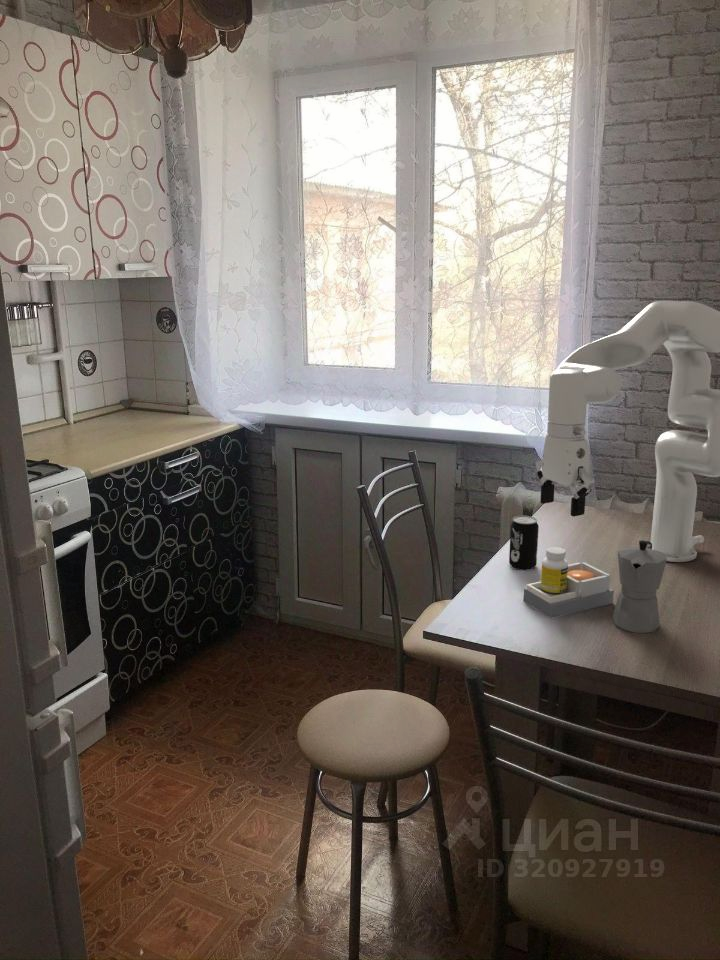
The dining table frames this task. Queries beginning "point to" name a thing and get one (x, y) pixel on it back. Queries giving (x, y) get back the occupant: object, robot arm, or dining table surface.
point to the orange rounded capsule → (580, 575)
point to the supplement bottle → (554, 572)
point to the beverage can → (523, 542)
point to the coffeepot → (639, 588)
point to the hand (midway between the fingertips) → (561, 508)
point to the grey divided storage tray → (572, 593)
